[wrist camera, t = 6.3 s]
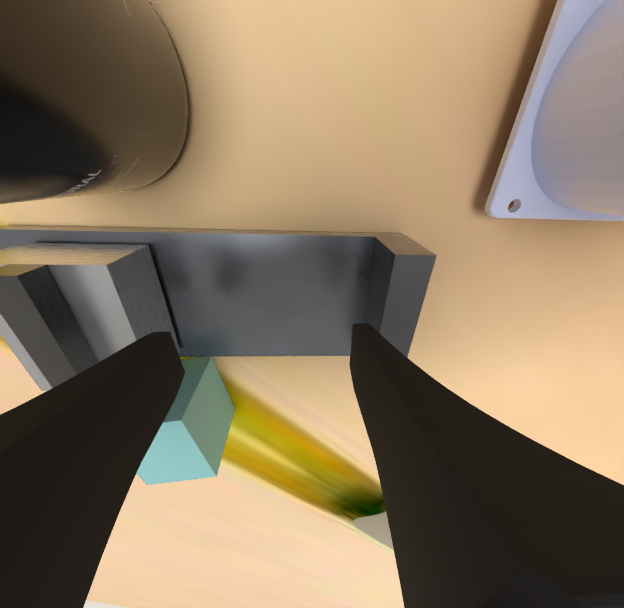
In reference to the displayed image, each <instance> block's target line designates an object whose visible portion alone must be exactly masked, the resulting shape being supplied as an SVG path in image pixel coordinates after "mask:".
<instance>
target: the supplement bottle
mask: <svg viewBox="0 0 624 608" xmlns="http://www.w3.org/2000/svg"><path fill="white" fill-rule="evenodd" d="M187 124H188V100H187V92H186V86H185V81H184V76H183V72H182V69H181V65H180V62H179V59H178V56H177V53H176V51H175V48H174V46H173V43H172V41H171V39H170V36H169V34H168V32H167V30H166V28H165V27H164V25H163V23H162V21H161V19H160V17H159V16H158V14H157V12H156V11H155V9H154V8H153V6H152V5H151V3H150V2H149V0H0V204H4V203H14V202H23V201H33V200H42V199H52V198H61V197H71V196H80V195H90V194H99V193H109V192H117V191H123V190H131V189H135V188H139V187H143V186H145V185H148V184H150V183H152V182H154V181H156V180H157V179H159V178H160V177H161V176H163V175H164V174H165V173H166V172H167V171H168V170H169V169H170V167H171V166H172V165H173V164H174V162H175V161H176V159H177V157H178V156H179V153H180V151H181V149H182V146H183V143H184V140H185V136H186V131H187Z"/></svg>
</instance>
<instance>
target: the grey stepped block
mask: <svg viewBox="0 0 624 608" xmlns="http://www.w3.org/2000/svg"><path fill="white" fill-rule="evenodd" d="M165 331H170V333H171V335H172V338H173V341H174V344H175V346H176V349H177V352H178V354H180V348H179V345H178V342H177V338H176V335H175V332H174V329H173V325H172V322H171V319H170V315H169V312H168V309H167V305H166V302H165V299H164V295H163V292H162V289H161V285H160V282H159V279H158V275H157V272H156V269H155V265H154V262H153V259H152V256H151V252H150V249H149V246H148V245H129V244H69V243H24V244H20V245H16V246H12V247H8V248H5V249H1V250H0V335H1V336H2V338H3V339H4V340H5V342H6V343H7V344H8V346H9V347H10V348H11V350H12V351H13V353H14V354H15V355H16V357H17V358H18V359H19V361H20V362H21V363H22V365H23V366H24V368H25V369H26V370H27V372H28V373H29V374H30V376H31V377H32V378H33V380H34V381H35V383H36V384H37V385H38V387H39V388H40V389H41V391H48V390H50V389H52V388H54V387H56V386H57V385H59V384H61V383H63V382H65V381H66V380H68V379H70V378H72V377H74V376H76V375H77V374H79V373H81V372H83V371H85V370H86V369H88V368H90V367H92V366H93V365H95V364H97V363H98V362H100V361H102V360H104V359H105V358H107V357H109V356H110V355H112V354H114V353H116V352H117V351H119V350H121V349H122V348H124V347H126V346H128V345H129V344H131V343H133V342H135V341H136V340H138V339H140V338H142V337H144V336H146V335H148V334H150V333H152V332H165Z"/></svg>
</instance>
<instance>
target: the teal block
mask: <svg viewBox="0 0 624 608" xmlns="http://www.w3.org/2000/svg"><path fill="white" fill-rule="evenodd" d="M181 362H182V365H183V368H184V370H185V375H184V378H183V380H182V383H181V386H180V389H179V391H178V394H177V396H176V399H175V401H174V403H173V405H172V406H171V408H170V410H169V412H168V414H167V416H166V418H165V420H164V422H163V423H162V425H161V427H160V429H159V431H158V433H157V435H156V436H155V438H154V440H153V442H152V444H151V446H150V448H149V449H148V451H147V453H146V455H145V457H144V459H143V461H142V462H141V465H140V467H139V469H138V471H137V473H136V474H137V475H138V476H139V477H140V478H141V479H142V480H143V481H144V482H145V483H146V484H147V485H151V484H159V483H167V482H176V481H184V480H192V479H200V478H209V477H216V476H217V473H218V469H219V465H220V462H221V458H222V454H223V451H224V447H225V443H226V440H227V436H228V433H229V429H230V425H231V422H232V418H233V414H234V411H235V407H234V405H233V403H232V400H231V398H230V396H229V394H228V391H227V389H226V387H225V385H224V382H223V380H222V378H221V375H220V373H219V371H218V369H217V366H216V364H215V362H214V360H213V357H212V356H207V357H199V358H192V359H185V360H181Z"/></svg>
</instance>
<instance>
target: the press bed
mask: <svg viewBox="0 0 624 608" xmlns="http://www.w3.org/2000/svg"><path fill="white" fill-rule="evenodd" d="M24 243H69V244H129V245H148V246H149V249H150V252H151V256H152V259H153V262H154V265H155V269H156V272H157V275H158V279H159V282H160V285H161V289H162V292H163V295H164V299H165V302H166V305H167V309H168V312H169V315H170V319H171V322H172V325H173V329H174V332H175V335H176V338H177V342H178V345H179V348H180V354H179V357H201V356H350V354H351V341H352V327H353V324H363V323H369V324H370V325H371V326H372V327H374V328H375V329H376V330H377V331H378V332H379V333H380V334H381V335H382V336H383V337H384V338H385V339H386V340H388V341H389V342H390V343H391V344H392V345H393V346H394V347H395V348H396V349H397V350H399V351H400V352H401V353H402V354H403V355H404V356H406V357H407V356H408V353H409V349H410V346H411V342H412V339H413V335H414V332H415V328H416V325H417V321H418V318H419V314H420V311H421V307H422V304H423V300H424V297H425V293H426V290H427V286H428V283H429V279H430V276H431V272H432V269H433V265H434V262H435V258H436V255H435V254H434V253H432V252H430V251H429V250H427V249H426V248H424V247H422V246H421V245H419V244H417V243H416V242H414V241H413V240H411V239H409V238H408V237H406V236H404V235H403V234H401V233H363V232H314V231H265V230H216V229H167V228H118V227H69V226H20V225H6V226H0V250H1V249H5V248H8V247H12V246H16V245H20V244H24Z"/></svg>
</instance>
